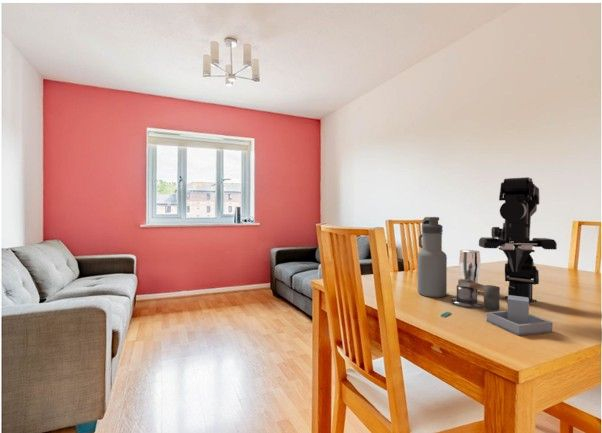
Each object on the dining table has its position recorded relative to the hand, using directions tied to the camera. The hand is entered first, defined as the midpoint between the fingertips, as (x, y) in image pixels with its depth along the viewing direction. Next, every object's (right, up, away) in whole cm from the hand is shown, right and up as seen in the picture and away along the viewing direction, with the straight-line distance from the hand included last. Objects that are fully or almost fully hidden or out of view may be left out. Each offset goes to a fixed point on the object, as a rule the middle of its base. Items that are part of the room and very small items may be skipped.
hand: (515, 271), depth 95 cm
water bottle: (-17, -12, +20) cm, 29 cm away
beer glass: (-1, -12, +24) cm, 26 cm away
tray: (-7, -12, -11) cm, 18 cm away
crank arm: (-9, -10, +4) cm, 14 cm away
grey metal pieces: (-15, -12, +5) cm, 20 cm away
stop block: (-7, -12, -11) cm, 18 cm away
